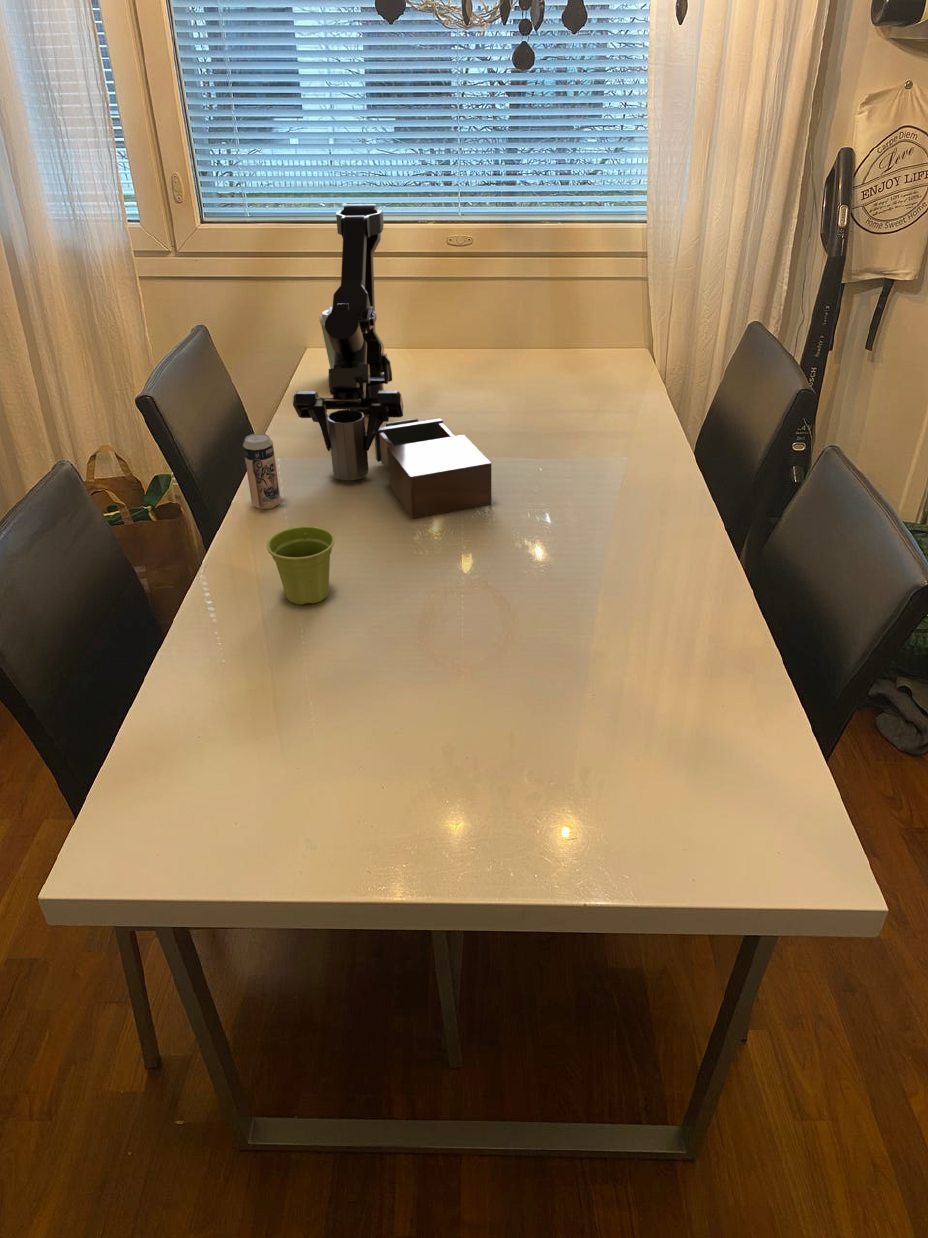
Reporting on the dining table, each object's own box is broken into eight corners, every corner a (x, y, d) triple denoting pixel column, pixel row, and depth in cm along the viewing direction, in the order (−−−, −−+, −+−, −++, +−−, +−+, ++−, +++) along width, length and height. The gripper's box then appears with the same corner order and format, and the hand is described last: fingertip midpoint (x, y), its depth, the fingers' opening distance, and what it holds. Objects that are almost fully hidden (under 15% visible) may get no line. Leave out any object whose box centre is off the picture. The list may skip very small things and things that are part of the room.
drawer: (369, 450, 179) (367, 420, 176) (434, 440, 183) (433, 410, 179) (395, 486, 166) (393, 454, 163) (464, 474, 170) (464, 442, 166)
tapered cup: (353, 462, 175) (348, 406, 169) (375, 472, 171) (371, 416, 165) (326, 472, 171) (320, 416, 165) (347, 483, 167) (342, 426, 162)
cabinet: (389, 486, 168) (386, 446, 164) (464, 473, 172) (463, 434, 168) (412, 518, 157) (410, 476, 153) (491, 504, 161) (491, 462, 157)
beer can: (265, 513, 160) (256, 446, 153) (246, 505, 162) (235, 439, 156) (286, 502, 163) (278, 436, 157) (267, 495, 166) (257, 430, 159)
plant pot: (260, 600, 137) (252, 546, 133) (304, 571, 144) (298, 519, 139) (310, 619, 133) (303, 564, 128) (353, 589, 139) (348, 536, 135)
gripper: (288, 345, 163) (284, 432, 160) (398, 344, 162) (396, 431, 159) (301, 375, 174) (297, 456, 171) (404, 374, 173) (402, 456, 170)
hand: (347, 450), depth 167 cm, fingers closed on tapered cup, 6 cm apart
